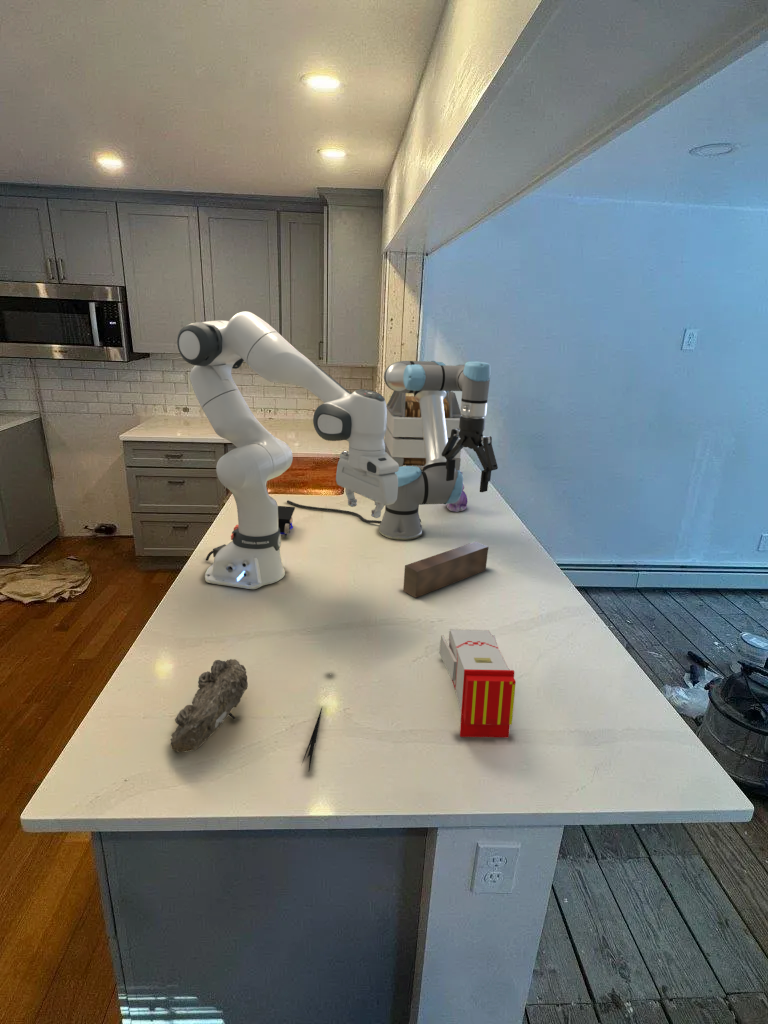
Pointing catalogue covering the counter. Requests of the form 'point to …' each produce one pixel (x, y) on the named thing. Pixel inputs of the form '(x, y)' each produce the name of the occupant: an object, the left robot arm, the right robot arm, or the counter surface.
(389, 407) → the transformer
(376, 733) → the counter surface
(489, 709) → the toy
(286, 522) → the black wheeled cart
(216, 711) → the fossil
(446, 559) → the walnut beam
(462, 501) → the figurine
